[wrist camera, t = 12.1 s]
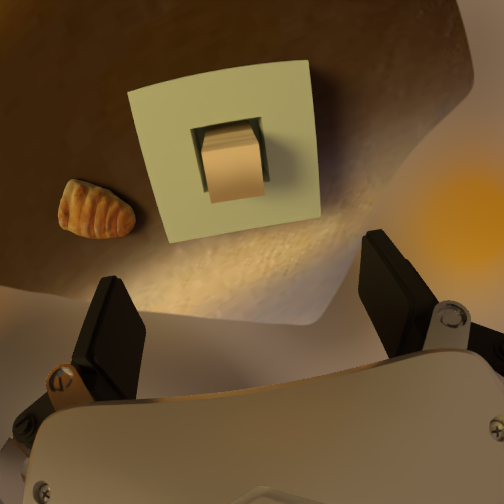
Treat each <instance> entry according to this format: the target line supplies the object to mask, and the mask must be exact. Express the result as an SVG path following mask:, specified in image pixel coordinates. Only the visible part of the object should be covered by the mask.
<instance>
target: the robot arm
mask: <svg viewBox="0 0 504 504" xmlns="http://www.w3.org/2000/svg"><path fill="white" fill-rule="evenodd" d="M358 293H359V297H360V299H361V301H362V303H363V305H364V307H365V309H366V311H367V313H368V315H369V317H370V319H371V321H372V323H373V325H374V327H375V329H376V331H377V334H378V336H379V338H380V340H381V342H382V344H383V346H384V348H385V351H386V353H387V355H388V357H389V359H387V360H383V361H379V362H375V363H371V364H367V365H364V366H359V367H356V368H351V369H347V370H343V371H339V372H334V373H330V374H326V375H321V376H317V377H312V378H307V379H302V380H297V381H291V382H286V383H280V384H275V385H269V386H263V387H257V388H250V389H243V390H235V391H228V392H221V393H211V394H202V395H192V396H181V397H168V398H153V399H137V400H136V394H137V387H138V379H139V373H140V366H141V360H142V353H143V348H144V342H145V336H146V328H145V325H144V323H143V321H142V319H141V317H140V316H139V313H138V312H137V310H136V308H135V306H134V304H133V302H132V300H131V298H130V296H129V294H128V292H127V290H126V288H125V285H124V283H123V281H122V280H121V279H120V278H119V279H118V278H117V277H116V276H108V277H103V278H101V280H100V282H99V284H98V287H97V289H96V292H95V294H94V297H93V299H92V302H91V304H90V307H89V310H88V312H87V315H86V318H85V320H84V323H83V326H82V329H81V332H80V334H79V337H78V340H77V343H76V346H75V349H74V352H73V355H72V361H71V364H61V365H58V366H57V367H55V368H54V369H53V370H52V371H51V372H50V373H49V375H48V377H47V379H46V390H47V392H46V393H45V394H44V395H43V396H42V397H40V398H39V399H38V400H37V401H35V402H34V403H33V404H32V405H31V406H29V407H28V408H27V409H26V410H24V411H23V412H22V413H21V414H20V415H19V416H18V417H17V418H16V420H15V422H14V424H13V436H14V437H13V438H10V437H9V438H8V440H7V441H6V442H5V444H4V445H3V447H2V448H1V450H0V499H1V500H2V501H3V503H4V504H504V334H503V333H501V332H498V331H495V330H492V329H489V328H487V327H484V326H481V325H478V324H476V323H473V322H471V316H470V313H469V311H468V310H467V309H466V308H465V307H464V306H463V305H462V304H460V303H458V302H455V301H450V300H448V301H442V302H440V303H439V302H438V300H437V299H436V297H435V296H434V294H433V293H432V292H431V290H430V289H429V287H428V286H427V285H426V283H425V282H424V281H423V279H422V278H421V277H420V275H419V274H418V272H417V271H416V270H415V268H414V267H413V266H412V264H411V263H410V262H409V261H408V260H407V259H405V258H404V257H403V255H402V254H401V253H400V252H399V250H398V249H397V248H396V246H395V245H394V244H393V243H392V241H391V240H390V239H389V237H388V236H387V235H386V234H385V232H384V231H383V230H382V229H378V230H372V231H368V232H367V233H366V236H363V237H362V250H361V263H360V275H359V286H358Z"/></svg>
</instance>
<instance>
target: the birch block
mask: <svg viewBox="0 0 504 504" xmlns="http://www.w3.org/2000/svg"><path fill="white" fill-rule="evenodd" d="M201 154H202V159H203V164H204V169H205V175H206V180H207V185H208V190H209V195H210V200H211V204H213V203H219V202H225V201H231V200H238V199H244V198H251V197H258V196H265V192H264V184H263V175H262V166H261V158H260V149H259V143H258V141H257V139H256V137H255V135H254V133H253V130H252V128H251V126H250V124H249V122H248V120H242V121H235V122H228V123H222V124H216V125H210V126H207V128H206V133H205V138H204V142H203V147H202V152H201Z"/></svg>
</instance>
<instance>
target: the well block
mask: <svg viewBox="0 0 504 504" xmlns="http://www.w3.org/2000/svg"><path fill="white" fill-rule="evenodd" d="M127 93H128V97H129V101H130V106H131V110H132V114H133V118H134V122H135V126H136V130H137V134H138V138H139V142H140V146H141V149H142V153H143V157H144V160H145V164H146V168H147V171H148V175H149V178H150V182H151V185H152V189H153V192H154V195H155V199H156V202H157V205H158V209H159V212H160V215H161V218H162V221H163V225H164V228H165V231H166V234H167V237H168V240H169V243H174V242H180V241H185V240H191V239H196V238H202V237H207V236H213V235H218V234H224V233H230V232H235V231H241V230H247V229H253V228H258V227H264V226H270V225H276V224H282V223H288V222H294V221H300V220H306V219H313V218H319V217H321V209H320V188H319V171H318V156H317V142H316V130H315V119H314V108H313V98H312V89H311V80H310V71H309V63H308V60H296V61H283V62H272V63H263V64H255V65H248V66H241V67H234V68H228V69H222V70H216V71H211V72H206V73H200V74H196V75H191V76H186V77H182V78H177V79H173V80H169V81H165V82H161V83H157V84H153V85H150V86H146V87H143V88H140V89H136V90H133V91H130V92H127ZM242 120H248V122H249V124H250V126H251V128H252V130H253V133H254V135H255V137H256V139H257V141H258V143H259V149H260V158H261V166H262V175H263V184H264V192H265V196H258V197H251V198H244V199H238V200H231V201H225V202H219V203H213V204H211V200H210V195H209V190H208V185H207V180H206V175H205V169H204V164H203V159H202V154H201V152H202V147H203V142H204V138H205V133H206V128H207V126H210V125H216V124H222V123H228V122H235V121H242Z"/></svg>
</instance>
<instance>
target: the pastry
mask: <svg viewBox="0 0 504 504" xmlns="http://www.w3.org/2000/svg"><path fill="white" fill-rule="evenodd" d="M58 219H59V224H60V226H61V227H62V228H63V229H64V230H69V231H71V232H72V233H74V234H77V235H79V236H85V237H87V238H92V239H93V238H95V239H103V238H104V239H108V238H117V237H124V236H126V235H127V234H128V233H129V232H130V231H131V230H132V229H133V228H134V226H135V223H136V218H135V214H134V212H133V209H132V208H131V206H130V205H128V204H127V203H125V202H124V201H122V200H121V199H120V198H119V197H117V196H116V195H114V194H113V193H112V192H111V191H110V190H109V189H104V188H102V187H99V186H96V185H94V184H92V183H88V182H84V181H79V180H75V179H72V180H70V181H69V182H68V183H67V185H66V187H65V189H64V193H63V197H62V199H61V201H60V206H59V212H58Z"/></svg>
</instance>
